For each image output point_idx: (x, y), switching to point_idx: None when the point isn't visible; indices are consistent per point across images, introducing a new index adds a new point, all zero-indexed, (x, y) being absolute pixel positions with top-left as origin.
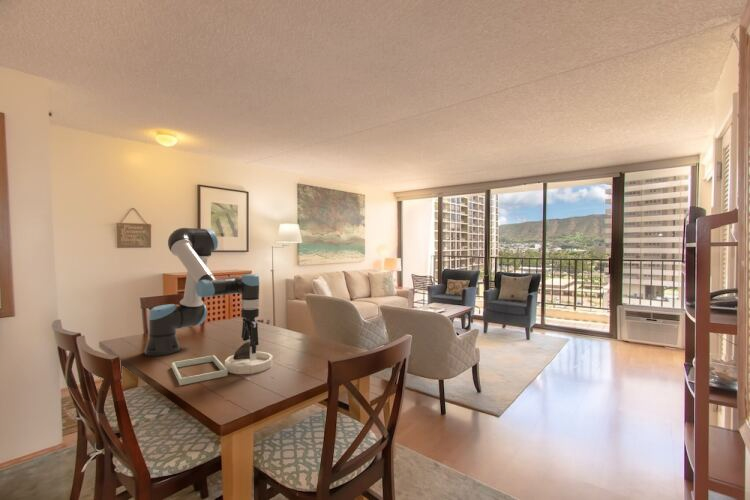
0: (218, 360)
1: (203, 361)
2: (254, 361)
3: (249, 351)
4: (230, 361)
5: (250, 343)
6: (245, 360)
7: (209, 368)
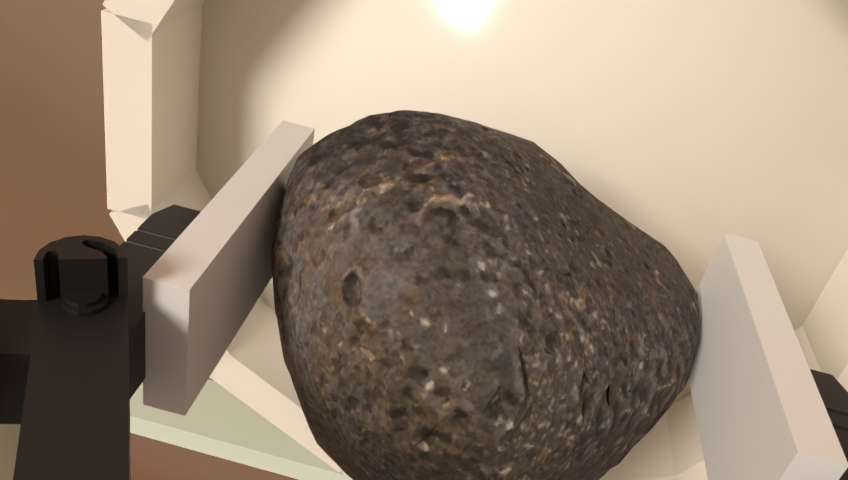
0: (193, 438)
1: (8, 431)
2: (456, 41)
3: (650, 419)
4: (267, 327)
5: (522, 440)
6: (296, 114)
7: (244, 469)
